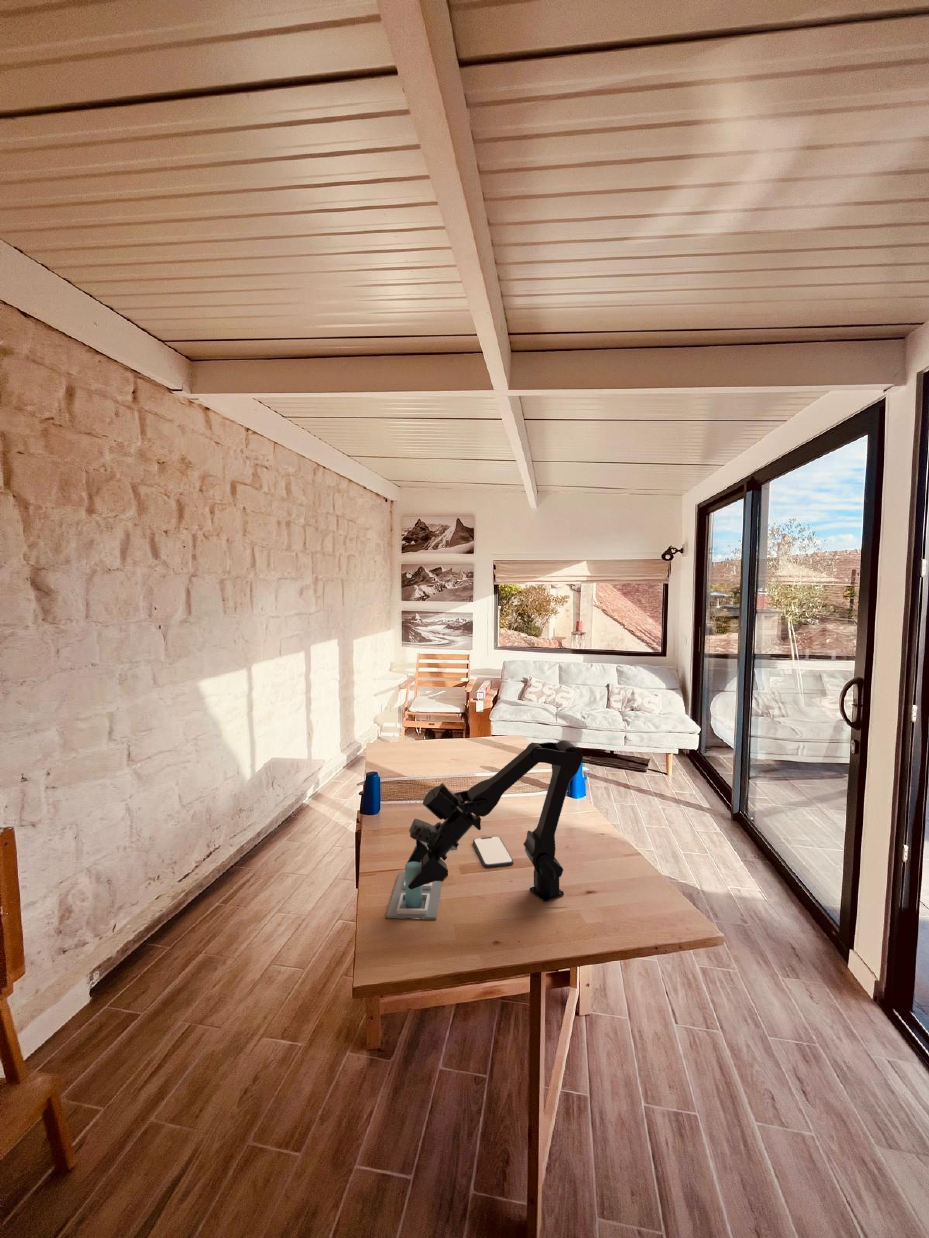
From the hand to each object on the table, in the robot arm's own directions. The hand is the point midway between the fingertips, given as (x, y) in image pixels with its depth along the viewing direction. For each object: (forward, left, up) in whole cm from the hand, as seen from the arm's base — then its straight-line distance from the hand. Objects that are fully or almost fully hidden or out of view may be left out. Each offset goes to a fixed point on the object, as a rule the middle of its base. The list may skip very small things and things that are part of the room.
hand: (407, 877), depth 136 cm
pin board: (+4, -4, -8) cm, 10 cm away
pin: (-1, -1, -7) cm, 7 cm away
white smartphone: (+12, -33, -8) cm, 36 cm away
